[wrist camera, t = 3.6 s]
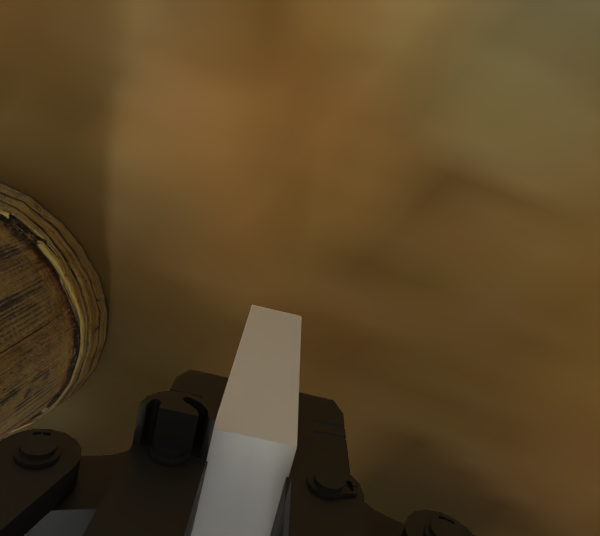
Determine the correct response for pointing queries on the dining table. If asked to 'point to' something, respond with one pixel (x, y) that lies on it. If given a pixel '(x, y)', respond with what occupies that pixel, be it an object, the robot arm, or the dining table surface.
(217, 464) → the robot arm
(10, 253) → the wooden mug
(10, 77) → the dining table surface
